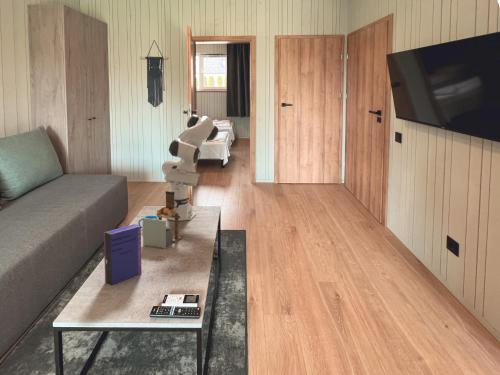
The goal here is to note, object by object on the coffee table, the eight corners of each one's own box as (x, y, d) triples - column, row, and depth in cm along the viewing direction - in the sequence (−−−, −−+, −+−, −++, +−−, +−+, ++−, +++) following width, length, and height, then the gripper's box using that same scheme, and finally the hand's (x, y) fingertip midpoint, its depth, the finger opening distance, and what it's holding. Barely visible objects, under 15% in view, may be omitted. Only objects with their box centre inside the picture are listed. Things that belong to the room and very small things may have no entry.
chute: (164, 214, 291) (164, 190, 288) (177, 216, 288) (177, 191, 285) (156, 218, 282) (155, 193, 279) (169, 220, 279) (169, 195, 276)
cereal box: (134, 271, 238) (133, 223, 233) (141, 274, 235) (140, 225, 230) (105, 282, 224) (103, 231, 219) (112, 285, 221) (110, 234, 216)
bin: (153, 240, 286) (152, 213, 283) (174, 243, 282) (174, 216, 279) (143, 245, 276) (142, 218, 272) (165, 248, 271) (165, 221, 268)
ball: (165, 213, 286) (165, 206, 285) (170, 213, 285) (170, 207, 284) (162, 214, 283) (162, 208, 282) (167, 215, 282) (167, 209, 281)
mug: (159, 228, 309) (158, 216, 307) (155, 232, 301) (155, 219, 299) (140, 227, 310) (140, 215, 308) (136, 231, 302) (136, 218, 300)
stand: (161, 235, 296) (161, 209, 293) (183, 238, 292) (183, 211, 288) (153, 239, 287) (153, 213, 283) (175, 242, 282) (175, 215, 279)
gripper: (201, 176, 300) (194, 194, 293) (171, 172, 306) (163, 190, 299) (199, 169, 295) (191, 188, 288) (168, 165, 301) (160, 184, 294)
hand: (177, 189), depth 293 cm, fingers closed
